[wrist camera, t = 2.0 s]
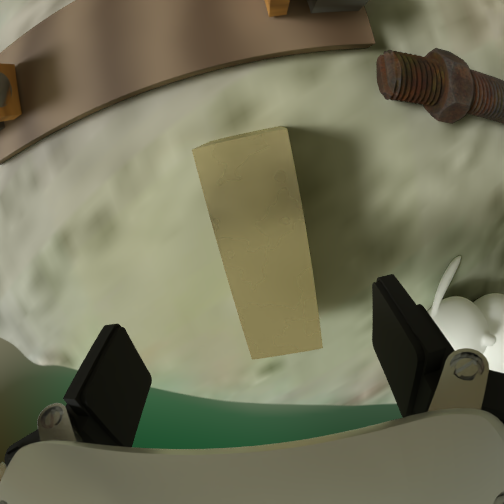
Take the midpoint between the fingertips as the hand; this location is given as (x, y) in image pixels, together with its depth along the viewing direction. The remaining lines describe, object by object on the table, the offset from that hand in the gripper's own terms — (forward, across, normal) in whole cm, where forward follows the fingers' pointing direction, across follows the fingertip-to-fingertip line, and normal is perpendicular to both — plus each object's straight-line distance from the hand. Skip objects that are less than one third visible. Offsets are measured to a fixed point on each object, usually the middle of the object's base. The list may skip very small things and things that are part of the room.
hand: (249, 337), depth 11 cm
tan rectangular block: (+11, -1, 0) cm, 11 cm away
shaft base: (+11, +5, -15) cm, 20 cm away
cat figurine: (+11, -17, +11) cm, 23 cm away
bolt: (+11, -17, -8) cm, 22 cm away
